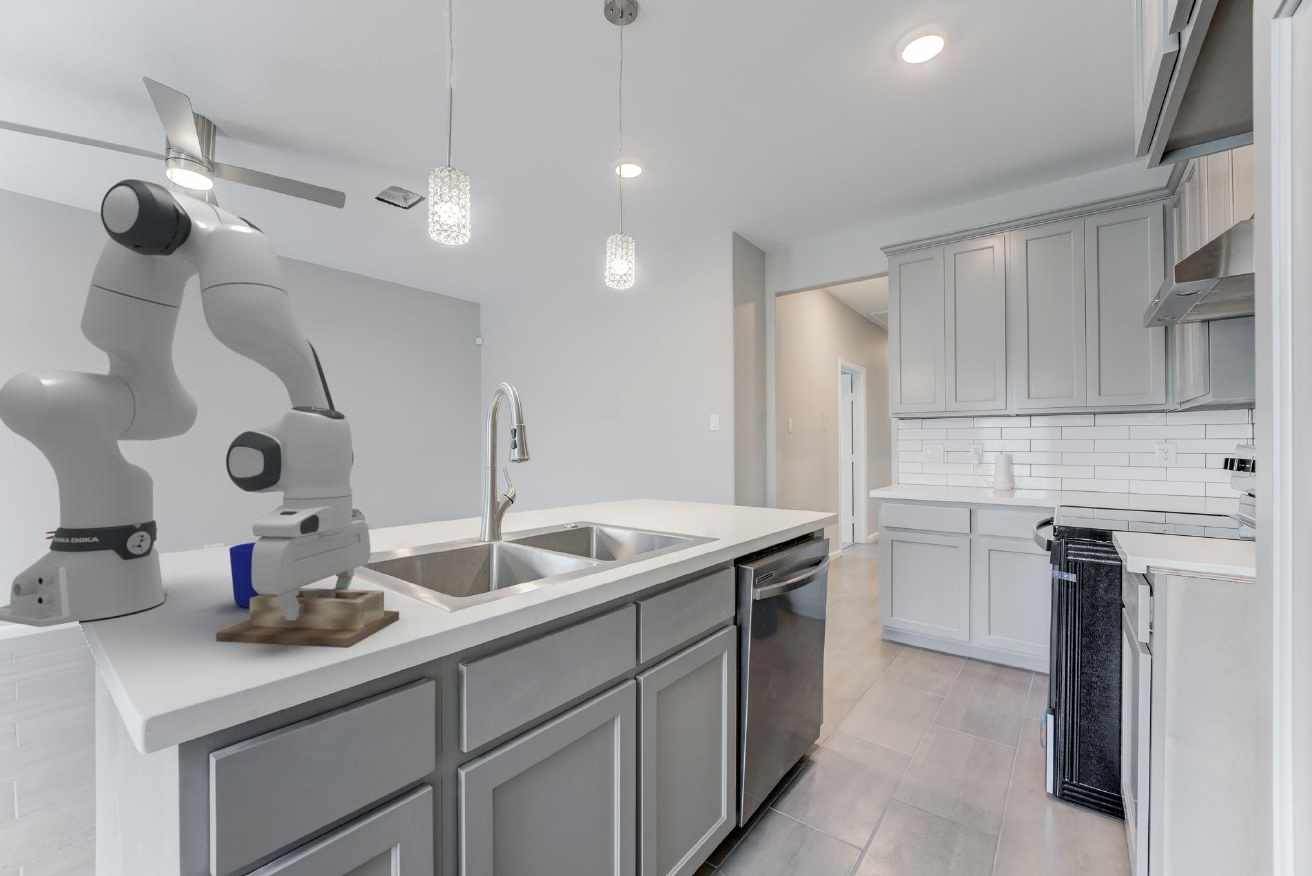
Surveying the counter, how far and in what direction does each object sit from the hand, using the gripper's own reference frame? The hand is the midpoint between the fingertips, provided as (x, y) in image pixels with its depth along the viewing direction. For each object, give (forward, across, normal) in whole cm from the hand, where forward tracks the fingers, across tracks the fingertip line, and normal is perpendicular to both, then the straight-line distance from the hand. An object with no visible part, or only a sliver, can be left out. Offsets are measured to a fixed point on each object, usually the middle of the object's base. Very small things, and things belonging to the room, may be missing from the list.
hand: (318, 608), depth 83 cm
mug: (+3, -11, -18) cm, 21 cm away
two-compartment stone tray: (+2, 0, 0) cm, 2 cm away
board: (+3, 0, -1) cm, 3 cm away
